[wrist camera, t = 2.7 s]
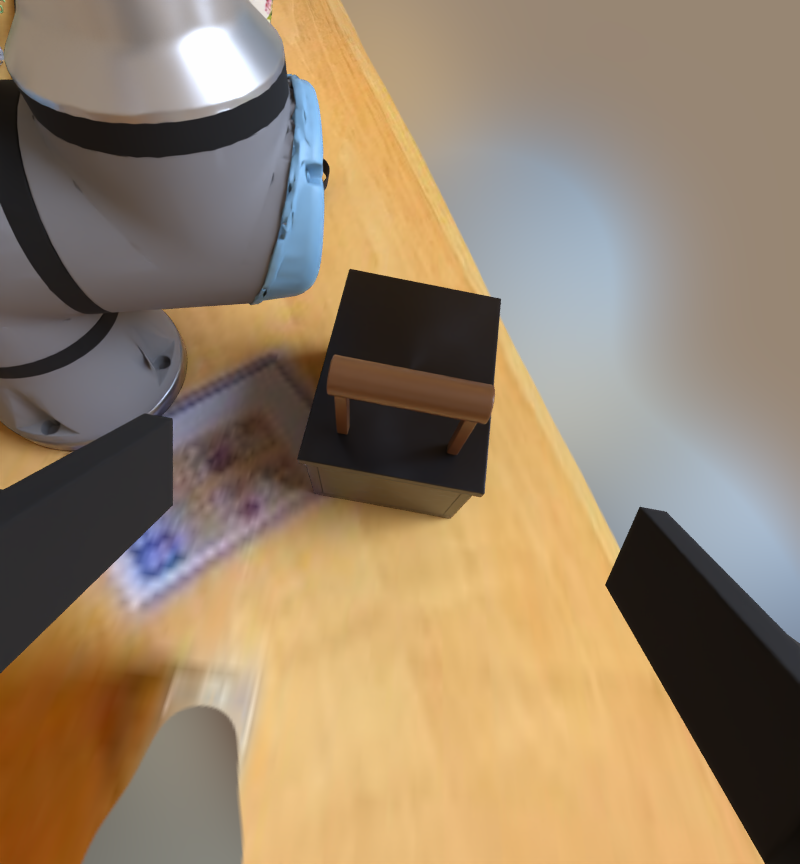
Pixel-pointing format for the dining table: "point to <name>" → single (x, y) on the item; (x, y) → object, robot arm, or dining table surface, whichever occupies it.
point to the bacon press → (407, 385)
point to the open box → (385, 492)
